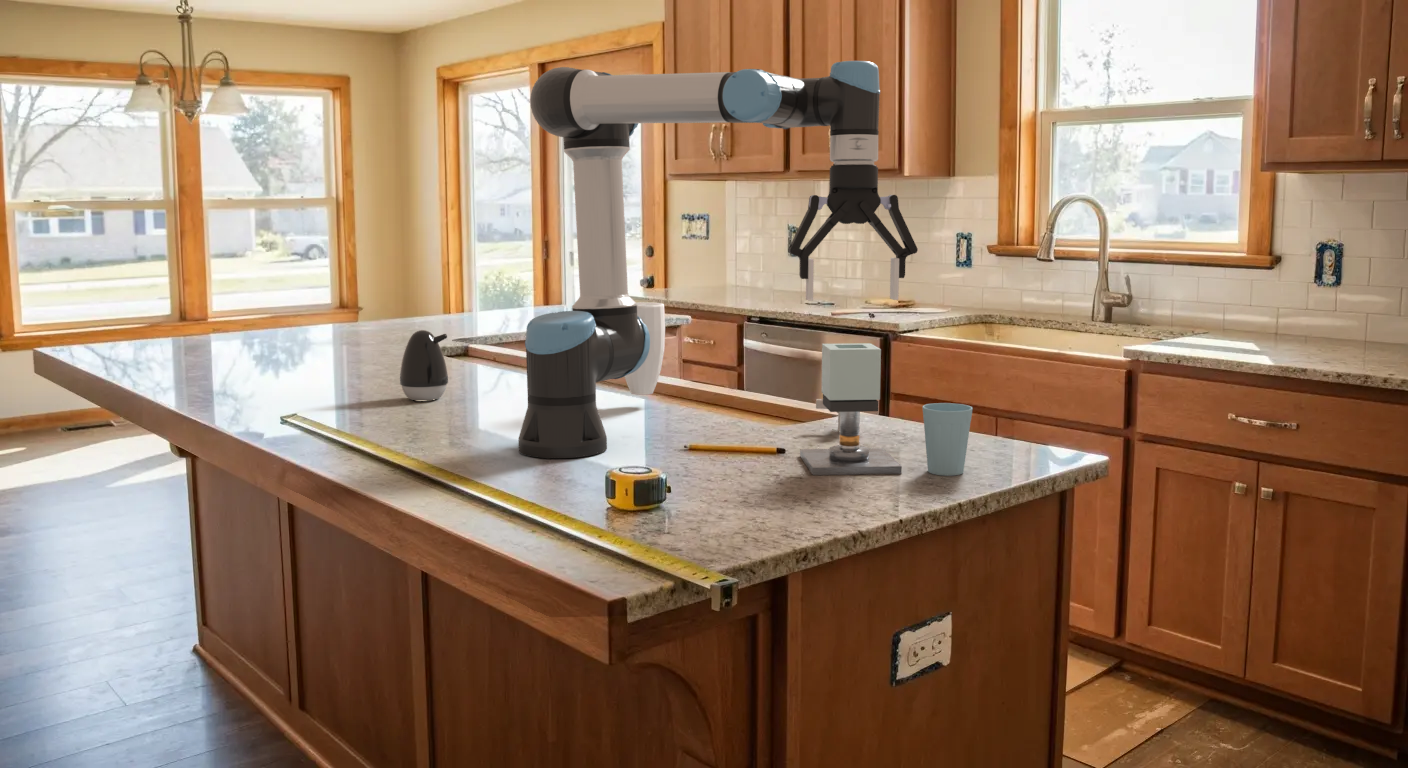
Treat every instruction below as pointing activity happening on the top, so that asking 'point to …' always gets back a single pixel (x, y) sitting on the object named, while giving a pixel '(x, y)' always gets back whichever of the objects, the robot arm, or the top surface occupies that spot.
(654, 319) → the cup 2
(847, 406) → the dark grey square slab
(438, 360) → the pump dispenser
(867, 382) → the sleeve
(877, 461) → the pipe stand
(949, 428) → the cup
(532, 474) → the top surface
